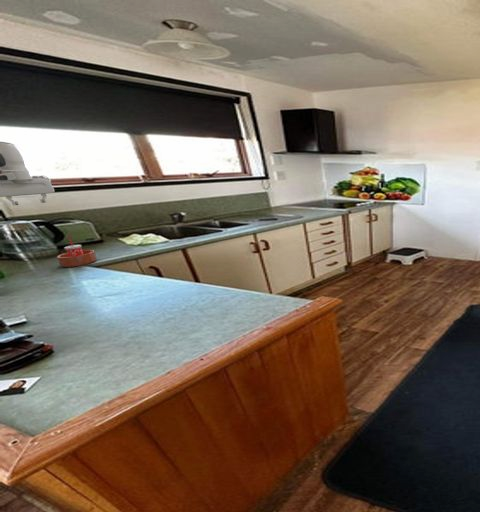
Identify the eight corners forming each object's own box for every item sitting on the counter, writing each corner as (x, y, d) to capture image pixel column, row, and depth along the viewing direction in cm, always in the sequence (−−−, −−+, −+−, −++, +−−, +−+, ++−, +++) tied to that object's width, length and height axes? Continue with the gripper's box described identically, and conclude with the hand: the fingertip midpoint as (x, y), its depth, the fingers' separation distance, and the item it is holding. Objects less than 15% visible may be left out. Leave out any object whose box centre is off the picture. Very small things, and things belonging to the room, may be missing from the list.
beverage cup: (68, 265, 141) (57, 239, 137) (74, 261, 146) (64, 236, 142) (83, 263, 143) (73, 237, 139) (89, 259, 149) (80, 235, 144)
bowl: (57, 269, 136) (53, 259, 135) (65, 262, 146) (61, 253, 145) (94, 263, 144) (90, 254, 142) (99, 257, 154) (95, 248, 152)
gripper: (45, 175, 147) (56, 201, 152) (-18, 177, 129) (-4, 206, 134) (50, 175, 145) (61, 201, 149) (-13, 177, 127) (1, 206, 131)
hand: (30, 203), depth 141 cm, fingers open, 8 cm apart
